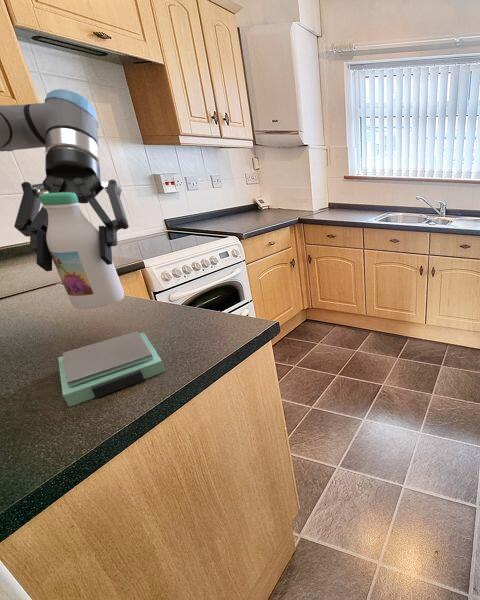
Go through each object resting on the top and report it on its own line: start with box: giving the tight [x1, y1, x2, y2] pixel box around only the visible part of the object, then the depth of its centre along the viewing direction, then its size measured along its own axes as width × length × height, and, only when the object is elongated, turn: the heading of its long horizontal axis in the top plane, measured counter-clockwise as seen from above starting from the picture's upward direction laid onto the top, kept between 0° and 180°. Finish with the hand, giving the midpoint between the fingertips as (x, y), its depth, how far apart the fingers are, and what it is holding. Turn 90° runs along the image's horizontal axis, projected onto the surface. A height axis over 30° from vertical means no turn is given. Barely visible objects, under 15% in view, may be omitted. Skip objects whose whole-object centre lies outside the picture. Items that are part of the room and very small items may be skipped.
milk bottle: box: [39, 192, 125, 310], centre depth 60 cm, size 8×8×20 cm
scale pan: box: [62, 330, 153, 387], centre depth 65 cm, size 13×12×1 cm
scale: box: [57, 332, 166, 408], centre depth 65 cm, size 17×14×2 cm
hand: (76, 263), depth 58 cm, fingers closed on milk bottle, 8 cm apart
